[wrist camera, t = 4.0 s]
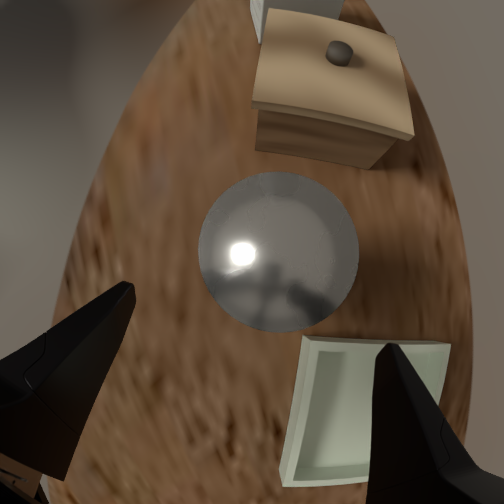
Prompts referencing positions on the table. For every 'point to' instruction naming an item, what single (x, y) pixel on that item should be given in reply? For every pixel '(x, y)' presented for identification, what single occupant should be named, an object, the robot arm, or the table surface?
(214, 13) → the table surface
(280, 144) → the lidded bin
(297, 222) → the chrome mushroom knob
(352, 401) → the tray
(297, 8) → the supplement box
